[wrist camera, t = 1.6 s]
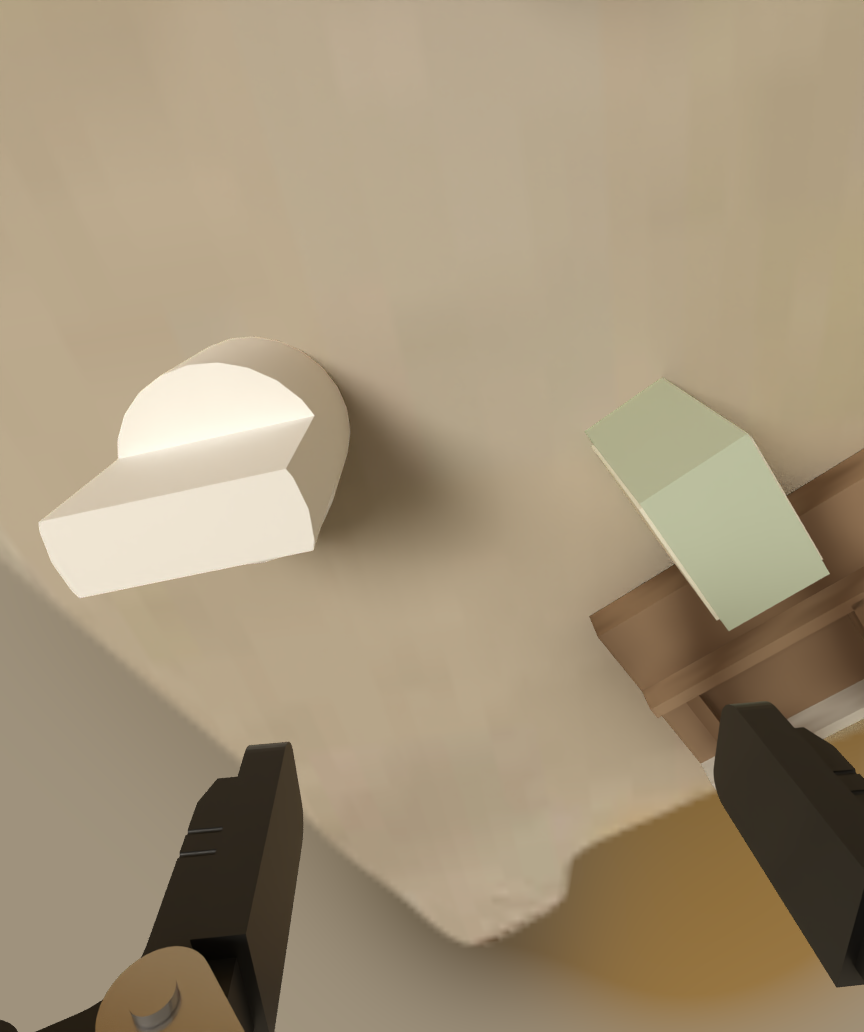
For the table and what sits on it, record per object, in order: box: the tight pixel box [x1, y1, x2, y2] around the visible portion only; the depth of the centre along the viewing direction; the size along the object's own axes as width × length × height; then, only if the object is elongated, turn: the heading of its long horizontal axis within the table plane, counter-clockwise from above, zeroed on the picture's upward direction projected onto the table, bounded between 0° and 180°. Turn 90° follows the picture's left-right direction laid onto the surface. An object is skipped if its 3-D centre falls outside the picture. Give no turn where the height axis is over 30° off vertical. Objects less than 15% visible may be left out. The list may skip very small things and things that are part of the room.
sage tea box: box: [584, 377, 830, 631], centre depth 29 cm, size 8×5×9 cm, turn 38°
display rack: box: [590, 449, 864, 791], centre depth 35 cm, size 24×13×4 cm, turn 128°
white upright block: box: [39, 336, 351, 598], centre depth 26 cm, size 9×9×12 cm
